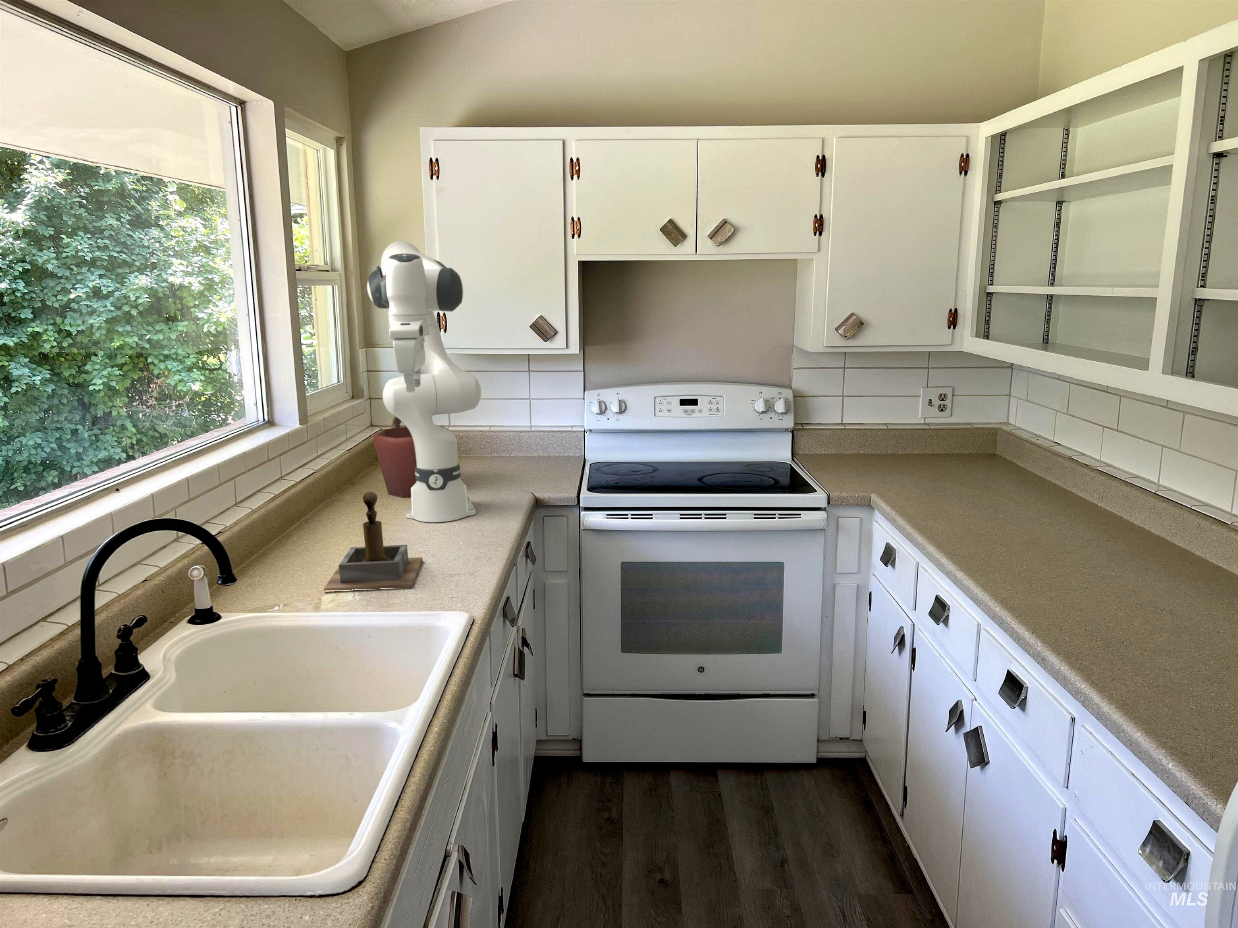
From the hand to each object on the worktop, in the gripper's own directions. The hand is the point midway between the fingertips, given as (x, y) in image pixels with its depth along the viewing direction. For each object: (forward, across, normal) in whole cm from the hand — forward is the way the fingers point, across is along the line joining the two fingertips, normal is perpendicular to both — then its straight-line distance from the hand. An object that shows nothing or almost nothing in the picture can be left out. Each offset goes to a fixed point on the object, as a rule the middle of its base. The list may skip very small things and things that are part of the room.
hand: (413, 389), depth 200 cm
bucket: (+39, -63, -11) cm, 75 cm away
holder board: (+39, +15, -9) cm, 43 cm away
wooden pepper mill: (+38, +15, -9) cm, 42 cm away
